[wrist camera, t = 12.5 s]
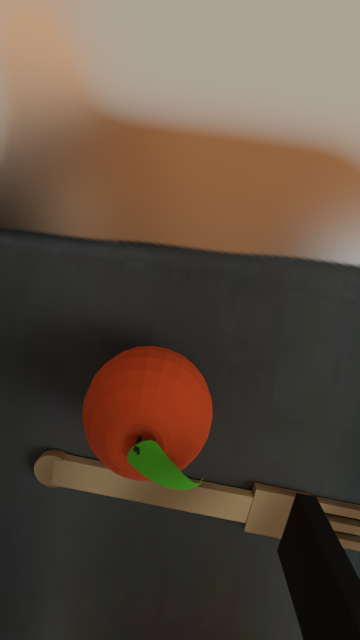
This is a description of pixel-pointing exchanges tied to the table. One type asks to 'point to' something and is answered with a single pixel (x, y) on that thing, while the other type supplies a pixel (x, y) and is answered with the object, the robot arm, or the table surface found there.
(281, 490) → the fork
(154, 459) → the clementine
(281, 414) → the table surface
